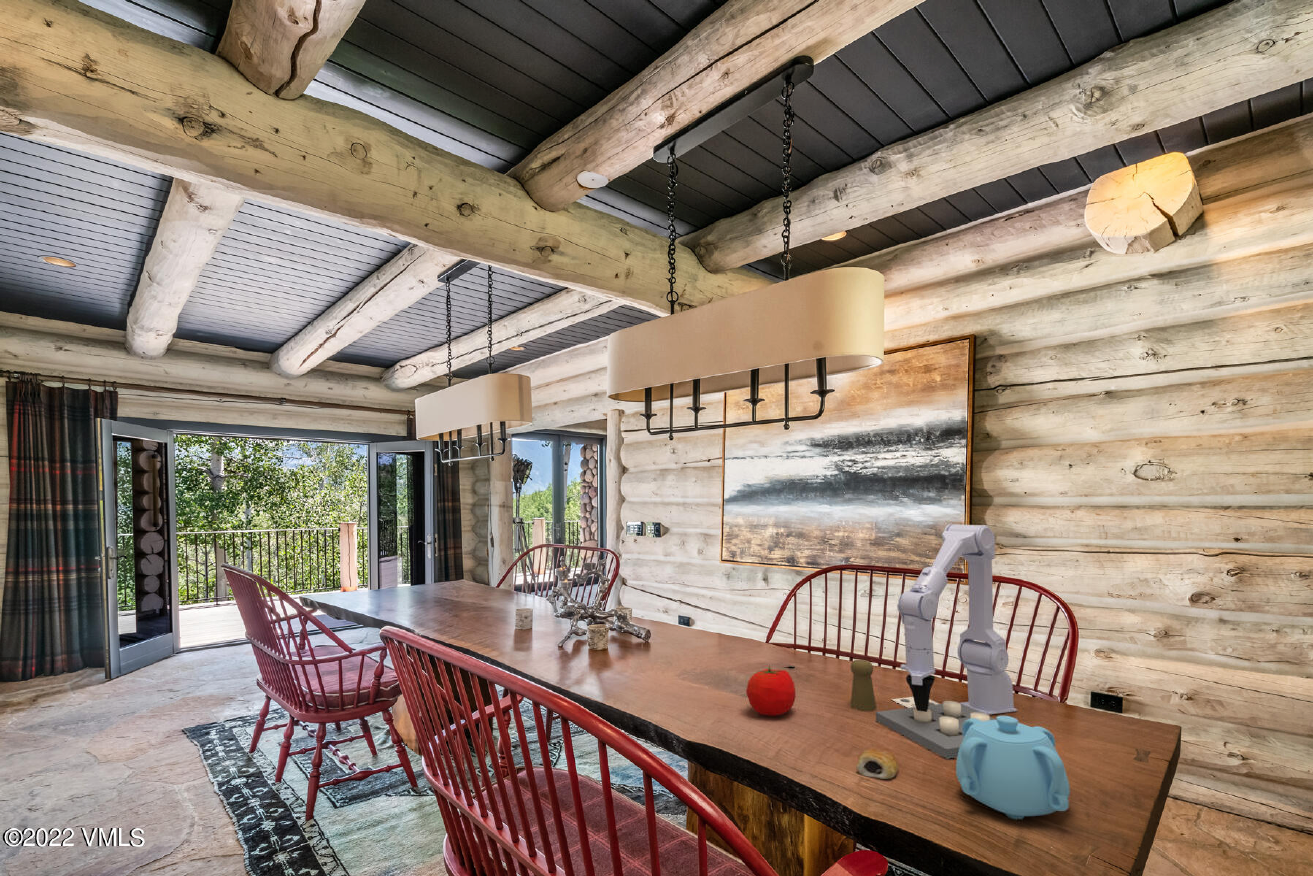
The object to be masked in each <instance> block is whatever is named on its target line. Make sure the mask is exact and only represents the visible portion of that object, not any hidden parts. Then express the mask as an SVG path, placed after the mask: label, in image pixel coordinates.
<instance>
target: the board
mask: <svg viewBox="0 0 1313 876" xmlns="http://www.w3.org/2000/svg"><path fill="white" fill-rule="evenodd" d="M914 708H916V707H912V708H906V707H904V708H898V709H889V710H880V711H875V721H876V722H877V723H879V722H880V723H879V724H881V725H882V724H883V725H882V726H884V725H885V726H884V727H886V726H887V727H886V728H888V727H889V728H888V729H889V730H891V729H892V730H891V731H893V730H894V731H893V732H895V731H896V733H897V734H899V733H900V734H899V735H900V736H902V735H904V736H905V737H904V736H903V737H904V738H906V737H907V738H906V739H908V738H909V739H908V740H910V739H911V740H910V741H912V742H913V741H915V742H916V743H915V742H914V743H915V744H917V743H919V744H920V745H919V744H918V745H919V746H921V745H922V746H921V747H923V746H924V747H926V748H927V749H926V748H925V749H926V750H928V749H930V750H931V751H930V750H929V751H930V752H932V751H933V752H932V753H934V752H935V753H937V754H939V755H941V756H942V757H941V756H940V757H941V758H943V757H945V758H946V759H950V758H955V757H957V756H958V752H959V748H960V746H961V743H962V741H963V739H964V737H963V732H962V725H963V723H964V722H965V721H966V720H968V719H971V715H970V714H971V713H974V712H977V711H975V710H972V709H970V708H968V707H965V706H963V705H961V716H962V718H958V722H959V735H958V736H951V737H948V736H946V735H944V734H942V733H940V721H939V718H940V717H943V716H944V710H943V703H939V704H936V705H928V709H929V710H931V717H932V722H928V723H920V722H918V721H916V720H914V711H913V709H914ZM978 713H980V712H978ZM990 720H996V718H994V717H991V716H990ZM924 747H923V748H924ZM935 753H934V754H935ZM937 754H936V755H937ZM939 755H938V756H939ZM945 758H944V759H945ZM946 759H945V760H946ZM950 760H951V759H950Z"/></svg>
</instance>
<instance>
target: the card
mask: <svg viewBox="0 0 1313 876" xmlns="http://www.w3.org/2000/svg"><path fill="white" fill-rule="evenodd" d="M890 700H893V701H895V702H896V704H897V703H899V704H898V705H900V704H901V705H900V706H901V707H904V706H905V707H904V708H906V707H907V708H912V707H916V706H915V702H914V698H913V696H909V697H908V696H907V697H901V698H892V699H890ZM893 701H892V702H893ZM895 702H894V703H895ZM936 704H940V703H938V702H937V701H934V700H933V699H930V698H929V705H936Z"/></svg>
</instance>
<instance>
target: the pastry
mask: <svg viewBox="0 0 1313 876" xmlns="http://www.w3.org/2000/svg"><path fill="white" fill-rule="evenodd" d="M857 759H858V760H857V764H856V766H855V767H856V770H857V772H858V774H859V775H863V776H864V777H869V778H876V779H880V780H891V779H894V778H895V776H896V775H897V773H898V768H899V765H898V760H897V757H896V756H895V754H894V753H892V752H891V751H888V750H885V749H883V748H873V749H866V750H863V752H862V753H860V754H859V756H858V758H857Z"/></svg>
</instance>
